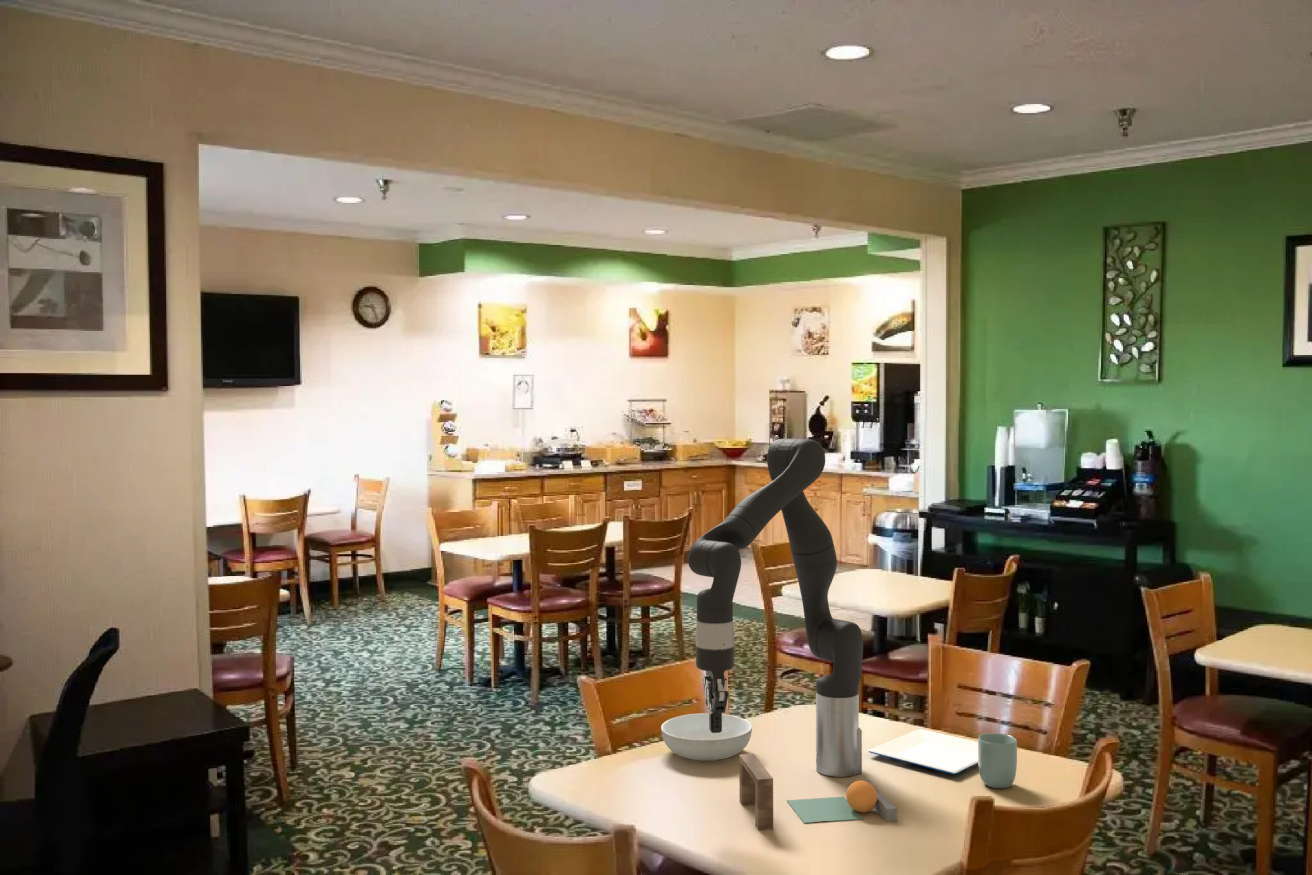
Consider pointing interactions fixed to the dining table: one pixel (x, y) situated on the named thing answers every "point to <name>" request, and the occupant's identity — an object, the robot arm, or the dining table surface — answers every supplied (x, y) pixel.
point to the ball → (861, 796)
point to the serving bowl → (706, 736)
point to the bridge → (756, 789)
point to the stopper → (884, 806)
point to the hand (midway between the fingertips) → (715, 731)
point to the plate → (931, 751)
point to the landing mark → (824, 809)
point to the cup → (997, 759)
